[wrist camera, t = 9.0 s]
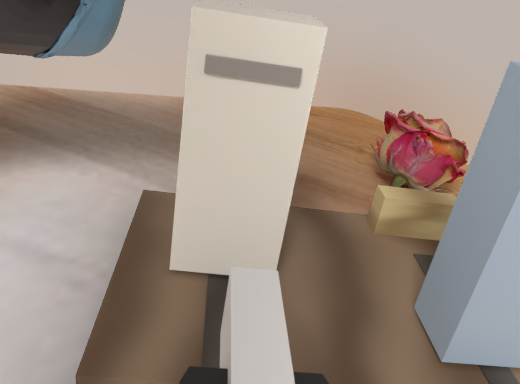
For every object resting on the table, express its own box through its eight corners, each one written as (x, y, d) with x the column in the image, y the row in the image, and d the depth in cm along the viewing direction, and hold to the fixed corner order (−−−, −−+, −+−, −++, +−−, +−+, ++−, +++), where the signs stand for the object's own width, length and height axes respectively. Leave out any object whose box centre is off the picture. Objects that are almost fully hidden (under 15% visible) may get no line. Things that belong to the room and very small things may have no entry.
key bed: (76, 399, 20) (74, 320, 18) (142, 207, 35) (145, 152, 33) (615, 432, 23) (664, 367, 21) (465, 242, 39) (486, 194, 36)
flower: (435, 214, 38) (491, 134, 38) (341, 156, 41) (393, 82, 41) (427, 229, 47) (472, 165, 48) (350, 181, 50) (393, 120, 51)
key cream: (168, 271, 26) (191, 6, 20) (176, 231, 30) (197, -3, 24) (274, 281, 27) (328, 28, 21) (269, 241, 31) (313, 16, 24)
